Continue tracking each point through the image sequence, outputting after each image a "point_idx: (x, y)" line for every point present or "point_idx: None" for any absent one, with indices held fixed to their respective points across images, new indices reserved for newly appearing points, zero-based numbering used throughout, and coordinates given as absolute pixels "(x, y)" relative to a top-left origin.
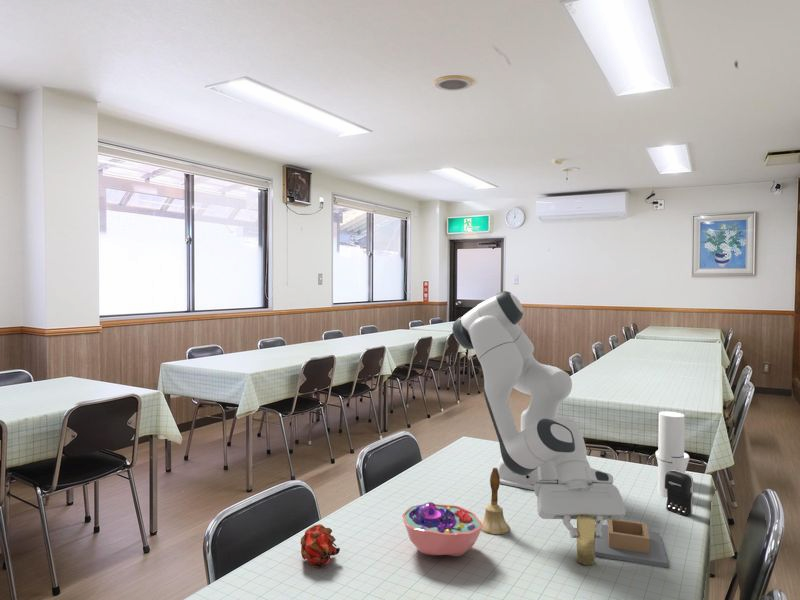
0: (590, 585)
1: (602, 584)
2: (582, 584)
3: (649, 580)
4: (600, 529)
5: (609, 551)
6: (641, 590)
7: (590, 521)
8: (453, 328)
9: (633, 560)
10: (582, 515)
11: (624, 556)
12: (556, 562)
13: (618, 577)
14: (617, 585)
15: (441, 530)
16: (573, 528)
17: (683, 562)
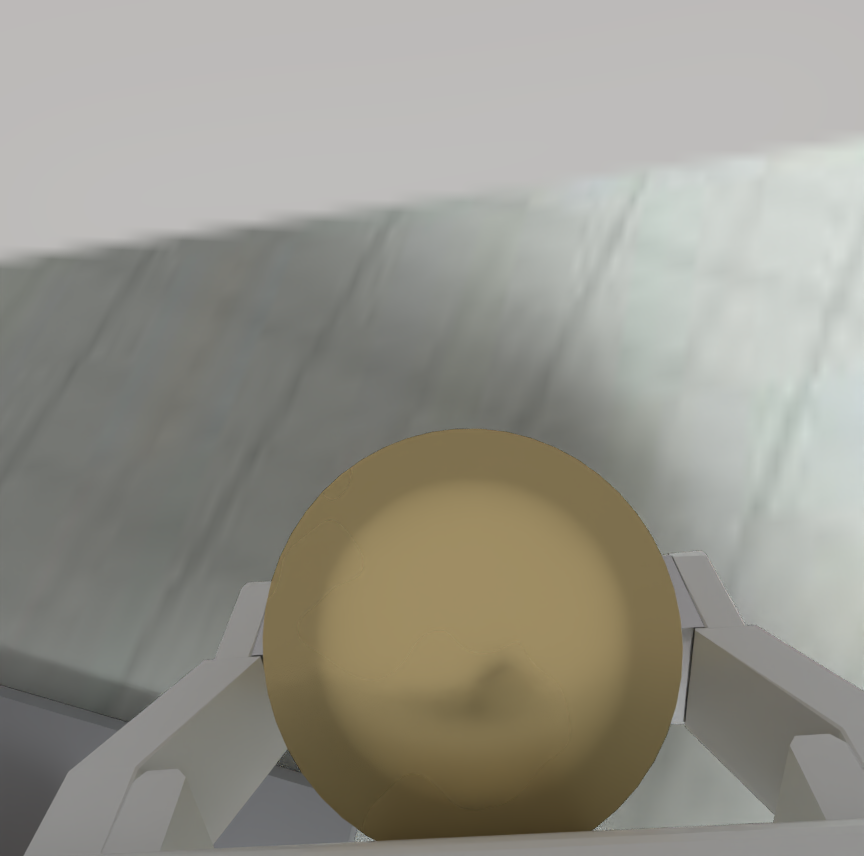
0: (519, 279)
1: (424, 304)
2: (578, 284)
3: (45, 404)
4: (225, 643)
5: None
6: (168, 268)
7: (405, 461)
8: None
9: (19, 693)
10: (522, 784)
11: (76, 720)
12: (767, 610)
13: (266, 417)
14: (315, 306)
15: None
16: (696, 616)
17: None
